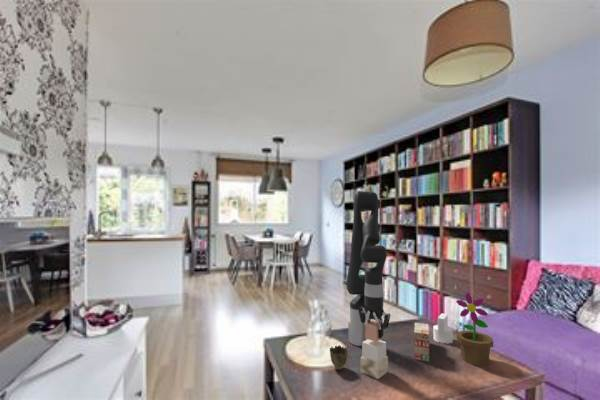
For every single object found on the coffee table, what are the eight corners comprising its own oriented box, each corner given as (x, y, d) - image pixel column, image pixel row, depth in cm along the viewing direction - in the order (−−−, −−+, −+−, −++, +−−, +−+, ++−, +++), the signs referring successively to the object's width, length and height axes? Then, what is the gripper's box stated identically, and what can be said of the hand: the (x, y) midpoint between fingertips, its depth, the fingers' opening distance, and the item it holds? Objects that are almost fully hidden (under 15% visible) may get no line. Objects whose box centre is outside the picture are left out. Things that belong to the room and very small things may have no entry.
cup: (336, 374, 127) (336, 354, 127) (326, 366, 133) (326, 347, 133) (351, 370, 130) (351, 350, 130) (341, 362, 137) (340, 344, 137)
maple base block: (360, 372, 129) (360, 357, 129) (370, 365, 135) (370, 350, 135) (378, 379, 123) (377, 363, 124) (388, 371, 129) (387, 356, 129)
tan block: (365, 338, 129) (365, 323, 130) (371, 334, 133) (371, 320, 133) (376, 341, 126) (376, 326, 126) (382, 338, 130) (382, 323, 130)
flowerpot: (452, 360, 138) (451, 291, 139) (462, 350, 149) (461, 286, 150) (489, 372, 129) (488, 298, 129) (497, 360, 139) (496, 291, 140)
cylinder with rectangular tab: (435, 335, 167) (435, 312, 167) (454, 339, 162) (454, 315, 162) (431, 340, 160) (431, 316, 160) (450, 345, 154) (450, 320, 155)
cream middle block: (362, 357, 129) (362, 342, 129) (371, 351, 134) (371, 337, 134) (377, 362, 124) (377, 347, 125) (386, 356, 129) (386, 342, 130)
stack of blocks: (415, 341, 159) (414, 316, 160) (428, 342, 157) (428, 317, 158) (414, 359, 139) (414, 331, 140) (429, 362, 137) (429, 333, 138)
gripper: (354, 292, 132) (354, 333, 132) (385, 299, 122) (385, 344, 122) (363, 289, 138) (363, 328, 137) (394, 295, 128) (394, 338, 127)
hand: (374, 335), depth 129 cm, fingers closed on tan block, 5 cm apart
